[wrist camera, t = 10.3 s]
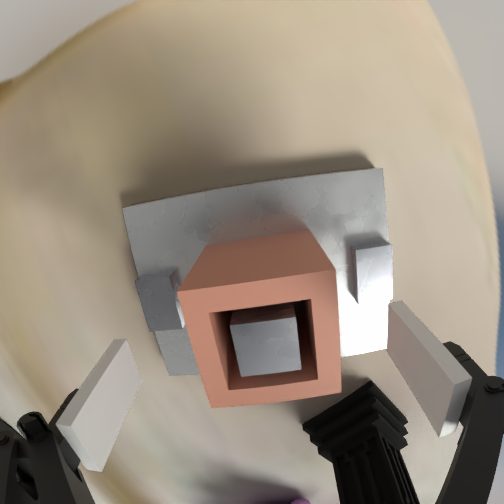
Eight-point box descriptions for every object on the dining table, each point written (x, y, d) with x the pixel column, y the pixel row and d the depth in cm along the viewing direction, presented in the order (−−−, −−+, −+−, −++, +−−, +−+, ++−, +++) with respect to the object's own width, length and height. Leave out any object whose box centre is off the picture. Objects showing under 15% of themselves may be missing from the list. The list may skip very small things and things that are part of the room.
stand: (173, 365, 26) (142, 444, 17) (130, 205, 23) (58, 234, 14) (381, 338, 25) (424, 412, 16) (375, 167, 21) (443, 175, 12)
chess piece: (405, 417, 28) (469, 571, 9) (344, 455, 30) (375, 609, 10) (371, 380, 26) (444, 574, 7) (302, 424, 28) (322, 614, 9)
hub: (225, 335, 24) (211, 407, 16) (205, 245, 22) (176, 291, 14) (319, 322, 23) (341, 392, 15) (309, 229, 21) (335, 268, 14)
